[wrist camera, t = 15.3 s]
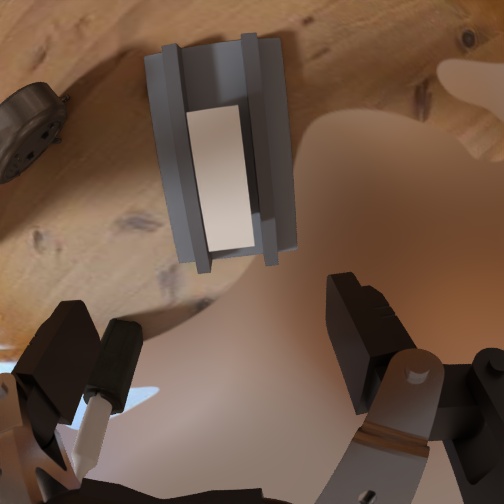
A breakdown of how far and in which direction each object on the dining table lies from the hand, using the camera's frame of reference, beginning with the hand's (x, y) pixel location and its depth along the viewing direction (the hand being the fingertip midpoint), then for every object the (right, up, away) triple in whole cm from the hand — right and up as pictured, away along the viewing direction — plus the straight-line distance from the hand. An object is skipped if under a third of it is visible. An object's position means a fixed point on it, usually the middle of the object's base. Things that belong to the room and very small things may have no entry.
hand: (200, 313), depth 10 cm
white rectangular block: (-1, +11, +22) cm, 25 cm away
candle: (-17, -10, +33) cm, 39 cm away
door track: (-1, +12, +23) cm, 26 cm away
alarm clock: (-22, +17, +20) cm, 34 cm away
